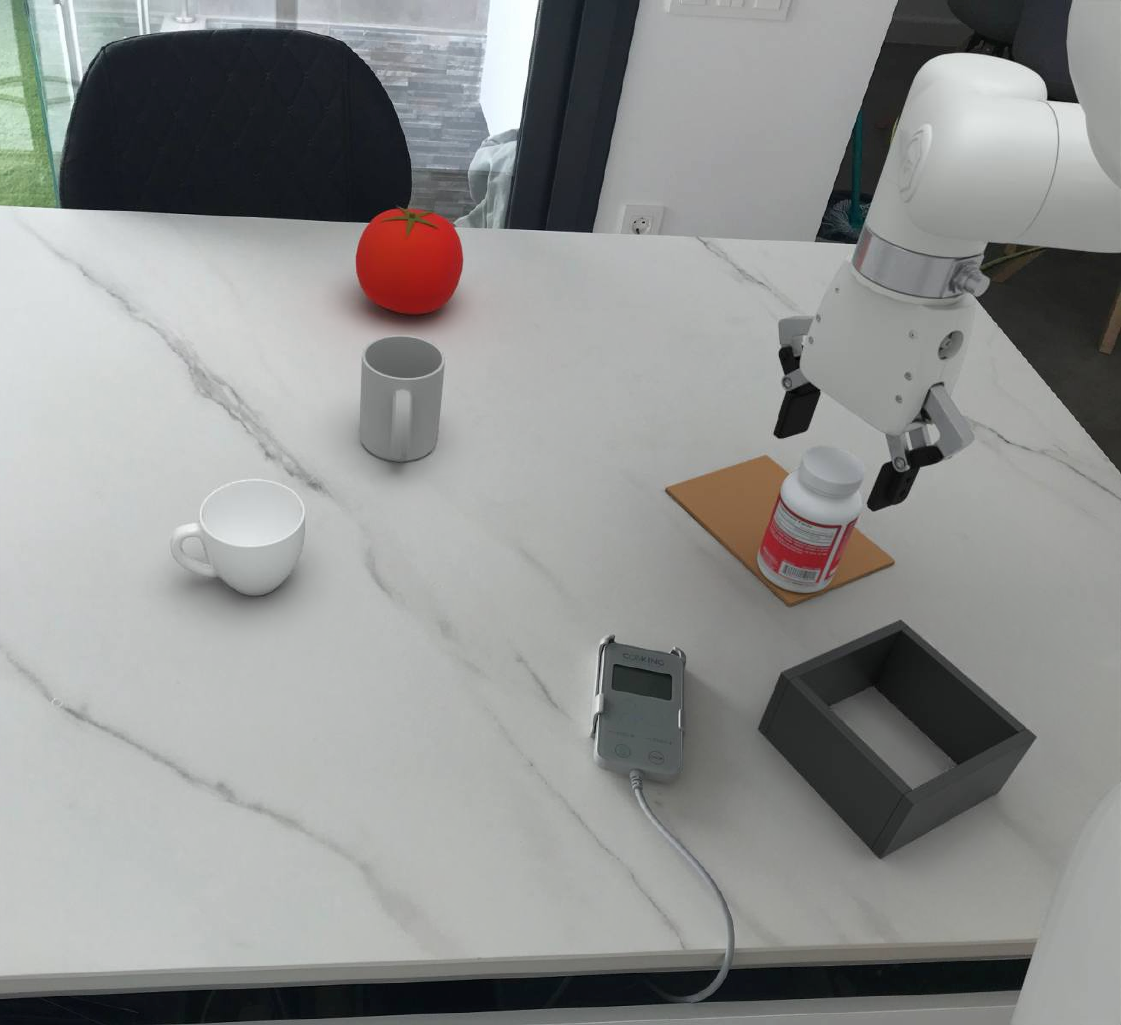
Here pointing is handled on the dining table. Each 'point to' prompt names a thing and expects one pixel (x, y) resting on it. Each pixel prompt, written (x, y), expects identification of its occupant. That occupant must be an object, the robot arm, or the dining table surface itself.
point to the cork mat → (762, 520)
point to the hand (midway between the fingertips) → (834, 467)
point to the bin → (927, 700)
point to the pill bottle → (812, 520)
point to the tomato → (409, 260)
